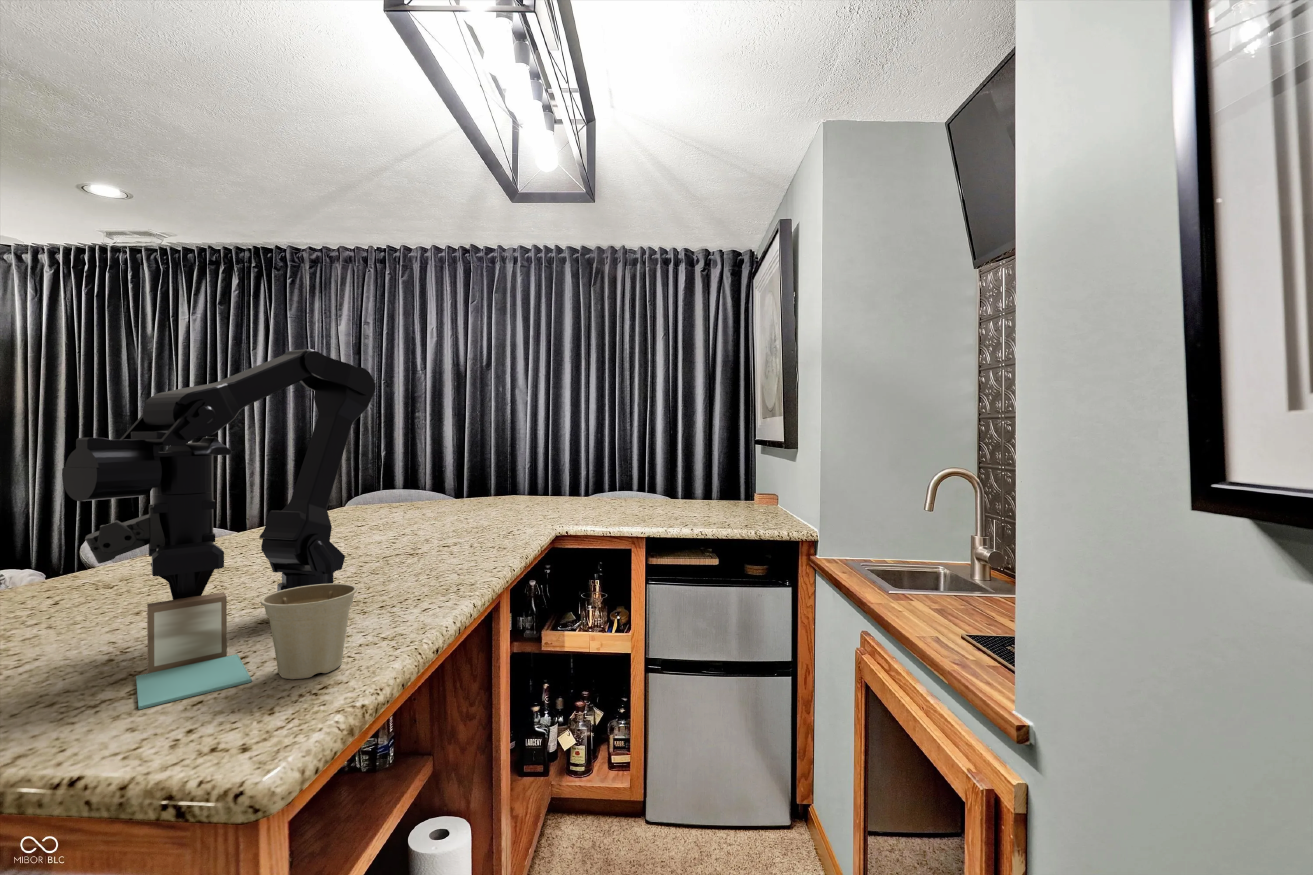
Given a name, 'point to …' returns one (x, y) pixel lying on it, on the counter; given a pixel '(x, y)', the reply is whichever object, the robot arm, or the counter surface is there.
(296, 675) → the flower pot
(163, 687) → the teal mat
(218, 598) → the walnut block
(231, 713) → the counter surface
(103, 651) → the counter surface
